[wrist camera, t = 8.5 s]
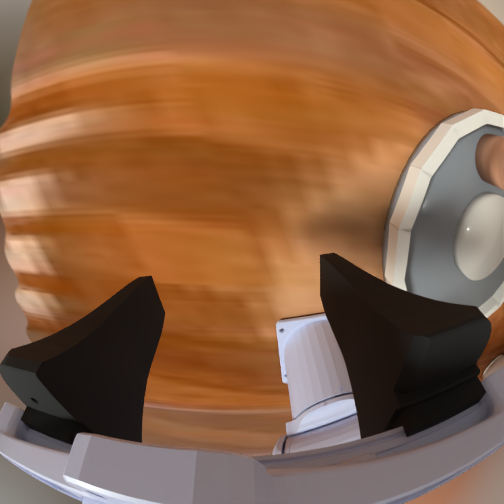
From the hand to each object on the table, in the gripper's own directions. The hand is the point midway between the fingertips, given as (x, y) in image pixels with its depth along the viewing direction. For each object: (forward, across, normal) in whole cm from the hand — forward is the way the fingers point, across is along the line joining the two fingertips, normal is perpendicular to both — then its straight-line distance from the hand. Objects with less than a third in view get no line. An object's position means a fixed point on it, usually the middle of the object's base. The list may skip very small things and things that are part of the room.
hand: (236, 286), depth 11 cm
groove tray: (+9, -24, +4) cm, 26 cm away
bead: (+8, -24, -4) cm, 25 cm away
